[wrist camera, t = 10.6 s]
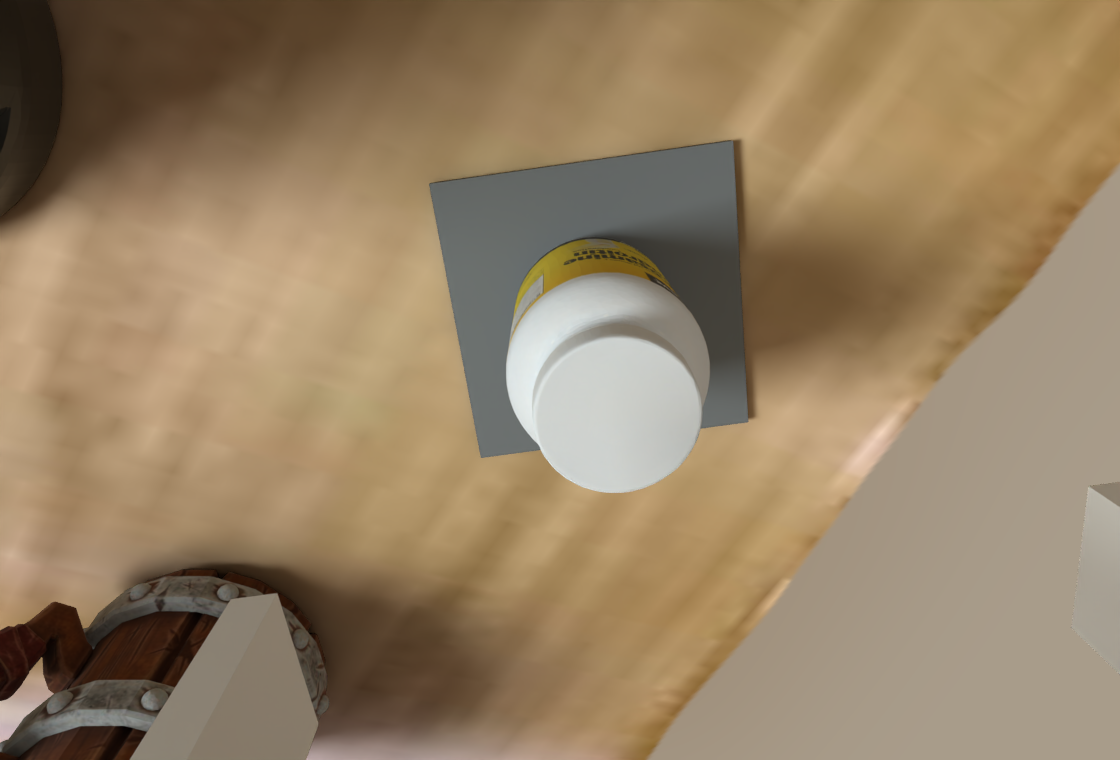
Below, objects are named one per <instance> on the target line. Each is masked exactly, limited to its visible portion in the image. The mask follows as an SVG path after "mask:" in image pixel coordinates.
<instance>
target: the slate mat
mask: <svg viewBox="0 0 1120 760" xmlns="http://www.w3.org/2000/svg"><path fill="white" fill-rule="evenodd" d="M429 186H430V192H431V197H432V202H433V207H434V213H435V218H436V223H437V228H438V234H439V239H440V244H441V250H442V255H443V260H444V265H445V271H446V276H447V281H448V286H449V292H450V297H451V302H452V308H453V313H454V318H455V323H456V329H457V334H458V339H459V345H460V350H461V355H462V360H463V366H464V371H465V376H466V381H467V387H468V392H469V397H470V403H471V408H472V413H473V418H474V424H475V429H476V434H477V440H478V445H479V450H480V455H481V458H484V457H491V456H499V455H506V454H514V453H521V452H529V451H536V450H541V449H540V447H539V445H538V444H537V443H536V442H535V441H534V440H533V439H532V438H531V436H530V435H529V434H528V433H527V432H526V430H525V429H524V428H523V426H522V425H521V423H520V421H519V420H518V418H517V416H516V414H515V412H514V410H513V407H512V405H511V402H510V398H509V394H508V389H507V382H506V361H507V354H508V348H509V341H510V334H511V328H512V322H513V317H514V310H515V303H516V299H517V295H518V291H519V289H520V286H521V284H522V282H523V280H524V278H525V276H526V274H527V273H528V272H529V270H530V269H531V267H532V266H533V265H534V264H535V263H536V262H537V261H538V260H539V259H540V258H541V257H542V256H543V255H544V254H546V253H547V252H548V251H549V250H551V249H553V248H554V247H556V246H558V245H560V244H562V243H565V242H567V241H570V240H573V239H578V238H584V237H605V238H611V239H615V240H619V241H622V242H624V243H626V244H629V245H631V246H633V247H635V248H636V249H638V250H639V251H641V252H642V253H643V254H645V255H646V256H647V257H648V258H649V259H650V260H651V261H652V262H653V263H654V264H655V265H656V266H657V268H658V269H659V270H660V272H661V273H662V275H663V276H664V277H665V279H666V280H667V281H668V283H669V284H670V285H671V287H672V288H673V290H674V291H675V293H676V294H677V295H678V297H679V298H680V299H681V301H682V302H683V303H684V304H685V305H686V307H687V308H688V309H689V311H690V312H691V313H692V315H693V317H694V318H695V320H696V322H697V324H698V325H699V327H700V329H701V332H702V334H703V336H704V339H705V342H706V345H707V349H708V354H709V361H710V379H709V386H708V391H707V395H706V398H705V402H704V404H703V407H702V423H701V428H708V427H715V426H723V425H730V424H738V423H745V422H748V408H747V390H746V371H745V352H744V334H743V315H742V297H741V278H740V260H739V241H738V222H737V204H736V185H735V167H734V148H733V141H731V140H730V141H723V142H716V143H709V144H702V145H695V146H688V147H681V148H674V149H667V150H660V151H653V152H646V153H639V154H632V155H625V156H618V157H611V158H604V159H597V160H590V161H583V162H576V163H569V164H562V165H555V166H548V167H541V168H533V169H526V170H519V171H512V172H505V173H498V174H491V175H484V176H477V177H470V178H463V179H456V180H449V181H442V182H435V183H430V184H429Z"/></svg>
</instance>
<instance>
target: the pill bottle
mask: <svg viewBox="0 0 1120 760" xmlns="http://www.w3.org/2000/svg"><path fill="white" fill-rule="evenodd" d="M709 379H710V361H709V354H708V349H707V345H706V342H705V339H704V336H703V334H702V332H701V329H700V327H699V325H698V324H697V322H696V320H695V318H694V317H693V315H692V313H691V312H690V311H689V309H688V308H687V307H686V305H685V304H684V303H683V302H682V301H681V299H680V298H679V297H678V295H677V294H676V293H675V291H674V290H673V288H672V287H671V285H670V284H669V283H668V281H667V280H666V279H665V277H664V276H663V275H662V273H661V272H660V270H659V269H658V268H657V266H656V265H655V264H654V263H653V262H652V261H651V260H650V259H649V258H648V257H647V256H646V255H645V254H643V253H642V252H641V251H639V250H638V249H636V248H635V247H633V246H631V245H629V244H626V243H624V242H622V241H619V240H615V239H611V238H605V237H584V238H578V239H573V240H570V241H567V242H565V243H562V244H560V245H558V246H556V247H554V248H553V249H551V250H549V251H548V252H547V253H546V254H544V255H543V256H542V257H541V258H540V259H539V260H538V261H537V262H536V263H535V264H534V265H533V266H532V267H531V269H530V270H529V272H528V273H527V274H526V276H525V278H524V280H523V282H522V284H521V286H520V289H519V291H518V295H517V299H516V303H515V310H514V317H513V322H512V328H511V334H510V341H509V348H508V354H507V361H506V382H507V389H508V394H509V398H510V402H511V405H512V407H513V410H514V412H515V414H516V416H517V418H518V420H519V421H520V423H521V425H522V426H523V428H524V429H525V430H526V432H527V433H528V434H529V435H530V436H531V438H532V439H533V440H534V441H535V442H536V443H537V444H538V445H539V447H540V449H541V451H542V453H543V454H544V456H545V458H546V459H547V460H548V462H549V463H550V464H551V466H552V467H553V468H554V469H555V470H556V471H557V472H559V473H560V474H561V475H562V476H564V477H565V478H566V479H568V480H570V481H572V482H573V483H575V484H577V485H579V486H581V487H584V488H587V489H590V490H594V491H599V492H607V493H624V492H631V491H635V490H639V489H643V488H645V487H648V486H650V485H652V484H655V483H657V482H659V481H660V480H662V479H663V478H665V477H666V476H668V475H670V474H671V473H672V472H673V471H675V470H676V469H677V468H678V467H679V466H680V465H681V464H682V463H683V462H684V460H685V459H686V458H687V456H688V455H689V453H690V452H691V450H692V449H693V447H694V445H695V443H696V441H697V438H698V435H699V432H700V429H701V423H702V407H703V404H704V402H705V398H706V395H707V391H708V386H709Z"/></svg>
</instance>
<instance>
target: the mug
mask: <svg viewBox="0 0 1120 760" xmlns="http://www.w3.org/2000/svg"><path fill="white" fill-rule="evenodd" d="M274 593H277V594H278V597H279V600H280V603H281V606H282V610H283V613H284V616H285V619H286V622H287V626H288V629H289V632H290V635H291V638H292V641H293V645H294V648H295V651H296V654H297V657H298V660H299V664H300V667H301V670H302V673H303V676H304V679H305V683H306V686H307V689H308V692H309V695H310V698H311V702H312V705H313V708H314V711H315V714H316V717H317V721H318V720H319V718H320V716H321V714H322V713H324V712H325V711H326V710H327V709H328V707H329V699H328V697H327V696H326V687H327V678H328V676H327V673H326V670H325V667H324V666H325V657H324V654H323V651H322V648H321V645H320V642H319V639H318V636H317V634H315V633H314V634H309V633H308V632H307V631H308V630H309V628H310V626H311V623H310V622H309V621H308V620H307V619H306V617H305V616H304V615H303V614H302V612H301V611H300V610H299V609H298V607H297V606H296V605H295V604H294V603H293V602H292V601H291V600H289V599H288V598H286V597H285V596H283V595H281V594H280V593H278V592H277V591H275V590H274V589H272V588H271V587H269V586H267V585H266V584H264V583H263V582H261V581H259V580H255V579H252V578H248V577H245V576H242V575H238V574H235V573H231V572H228V573H227V574H226V575H225V576H224V577H223V578H222V579H219V577H218V574H217V571H216V570H180V571H177V572H174V573H171V574H168V575H165V576H161V577H158V578H155V579H152V580H149V581H147V582H146V583H140V584H138V585H136V586H134V587H132V588H129V589H127V590H126V591H125V592H124V593H122V594H121V595H120V596H119V597H117V598H116V599H115V600H114V601H113V602H111V603H110V604H109V605H108V606H106V607H105V608H104V609H103V610H102V611H100V612H99V613H98V615H97V616H96V618H95V619H94V620H93V622H92V623H91V625H90V626H89V627H88V628H84V629H83V628H82V625H81V622H80V619H79V616H78V613H77V610H76V608H74V607H71V606H68V605H65V604H61V603H58V602H53V603H51V604H50V605H48V606H47V607H46V608H45V609H44V610H42V611H41V612H40V613H39V614H38V615H36V616H35V617H34V618H33V619H31V620H30V621H29V622H27V623H26V624H18V625H16V626H15V627H10V626H8V627H6V628H4V629H2V630H0V701H2V700H6V699H8V698H9V697H11V696H12V695H13V694H14V693H15V692H16V691H17V690H18V688H19V687H20V686H21V685H22V683H23V681H24V680H25V678H26V677H27V675H28V674H29V671H30V670H31V669H32V668H33V666H34V665H35V664H36V663H37V662H38V661H39V659H40V658H41V657H43V675H44V678H45V681H46V683H47V686H48V689H49V690H50V691H51V692H53V693H54V694H53V695H52V696H51V697H50V698H48V699H47V700H46V701H45V702H43V703H42V704H41V705H40V706H38V707H37V708H36V709H35V710H33V711H32V712H31V713H30V714H28V715H27V716H26V717H25V718H24V719H23V720H22V722H21V723H20V724H19V726H18V727H17V729H16V730H15V731H14V733H13V734H12V735H11V737H10V738H9V740H5V741H3V742H1V743H0V760H130V758H131V757H132V755H133V754H134V752H135V750H136V749H137V747H138V746H139V744H140V743H141V741H142V739H143V738H144V736H145V735H146V733H147V731H148V730H149V728H150V727H151V725H152V724H153V722H154V720H155V719H156V717H157V716H158V714H159V712H160V711H161V709H162V708H163V706H164V705H165V703H166V701H167V700H168V698H169V697H170V695H171V693H172V692H173V690H174V689H175V687H176V686H177V684H178V682H179V681H180V679H181V678H182V676H183V674H184V673H185V671H186V670H187V668H188V667H189V665H190V663H191V662H192V660H193V659H194V657H195V655H196V654H197V652H198V651H199V649H200V648H201V646H202V644H203V643H204V641H205V640H206V638H207V636H208V635H209V633H210V632H211V630H212V629H213V627H214V625H215V624H216V622H217V621H218V619H219V617H220V616H221V614H222V613H223V611H224V610H225V608H226V606H227V605H228V603H229V602H230V600H231V599H236V598H244V597H251V596H259V595H266V594H274Z"/></svg>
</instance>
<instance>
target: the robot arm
mask: <svg viewBox="0 0 1120 760" xmlns="http://www.w3.org/2000/svg"><path fill="white" fill-rule="evenodd" d="M61 101H62V69H61V58H60V51H59V45H58V39H57V35H56V31H55V26H54V22H53V19H52V16H51V12H50V9H49V6H48V3H47V0H0V216H2V215H3V214H4V213H6V212H7V211H8V210H9V209H10V208H12V207H13V206H14V205H15V204H16V203H17V202H18V201H19V200H20V199H21V198H22V197H23V196H24V195H25V194H26V192H27V191H28V190H29V188H30V187H31V186H32V185H33V183H34V182H35V180H36V179H37V177H38V175H39V174H40V172H41V170H42V168H43V166H44V165H45V163H46V161H47V158H48V156H49V153H50V151H51V149H52V146H53V142H54V139H55V136H56V132H57V128H58V123H59V118H60V111H61ZM1072 629H1073V630H1074V631H1075V632H1076V633H1077V634H1078V635H1079V636H1080V637H1081V638H1082V639H1083V640H1085V642H1087V643H1088V644H1089V645H1090V646H1091V647H1092V648H1093V649H1094V650H1095V651H1096V652H1097V653H1098V654H1099V655H1100V656H1101V657H1102V658H1103V659H1104V660H1105V661H1106V662H1107V663H1108V664H1109V665H1110V666H1111V667H1112V668H1113V669H1114V670H1116V672H1118V674H1120V482H1116V483H1108V484H1100V485H1093V486H1089V487H1088V494H1087V503H1086V511H1085V520H1084V527H1083V536H1082V544H1081V552H1080V561H1079V569H1078V578H1077V585H1076V594H1075V602H1074V611H1073V619H1072ZM318 725H319V724H318V721H317V717H316V714H315V711H314V708H313V705H312V702H311V698H310V695H309V692H308V689H307V686H306V683H305V679H304V676H303V673H302V670H301V667H300V664H299V660H298V657H297V654H296V651H295V648H294V645H293V641H292V638H291V635H290V632H289V629H288V626H287V622H286V619H285V616H284V613H283V610H282V606H281V603H280V600H279V597H278V594H277V593H274V594H266V595H259V596H251V597H244V598H236V599H231V600H230V602H229V603H228V605H227V606H226V608H225V610H224V611H223V613H222V614H221V616H220V617H219V619H218V621H217V622H216V624H215V625H214V627H213V629H212V630H211V632H210V633H209V635H208V636H207V638H206V640H205V641H204V643H203V644H202V646H201V648H200V649H199V651H198V652H197V654H196V655H195V657H194V659H193V660H192V662H191V663H190V665H189V667H188V668H187V670H186V671H185V673H184V674H183V676H182V678H181V679H180V681H179V682H178V684H177V686H176V687H175V689H174V690H173V692H172V693H171V695H170V697H169V698H168V700H167V701H166V703H165V705H164V706H163V708H162V709H161V711H160V712H159V714H158V716H157V717H156V719H155V720H154V722H153V724H152V725H151V727H150V728H149V730H148V731H147V733H146V735H145V736H144V738H143V739H142V741H141V743H140V744H139V746H138V747H137V749H136V750H135V752H134V754H133V755H132V757H131V758H130V760H306V758H307V755H308V753H309V750H310V747H311V744H312V742H313V739H314V736H315V733H316V730H317V728H318Z"/></svg>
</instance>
